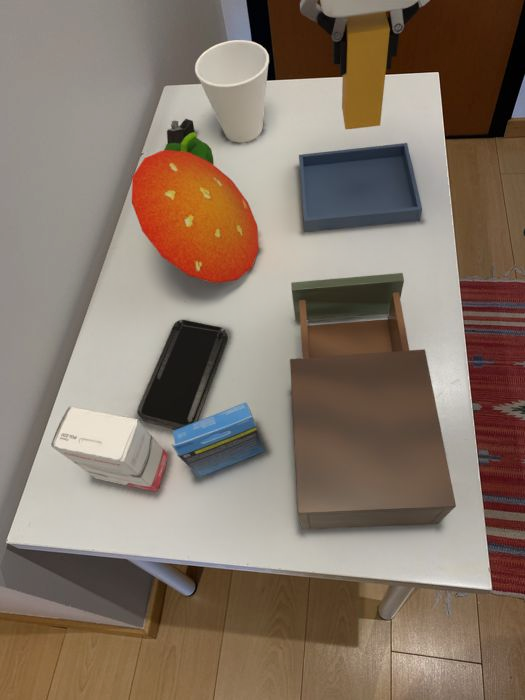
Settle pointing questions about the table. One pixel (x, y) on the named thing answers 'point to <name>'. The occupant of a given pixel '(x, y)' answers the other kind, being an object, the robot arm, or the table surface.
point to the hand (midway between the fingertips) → (363, 63)
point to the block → (365, 69)
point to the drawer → (350, 315)
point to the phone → (183, 374)
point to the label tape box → (218, 440)
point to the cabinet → (368, 442)
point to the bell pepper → (192, 147)
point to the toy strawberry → (195, 216)
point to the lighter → (179, 131)
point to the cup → (236, 86)
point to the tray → (358, 188)
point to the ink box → (111, 448)
